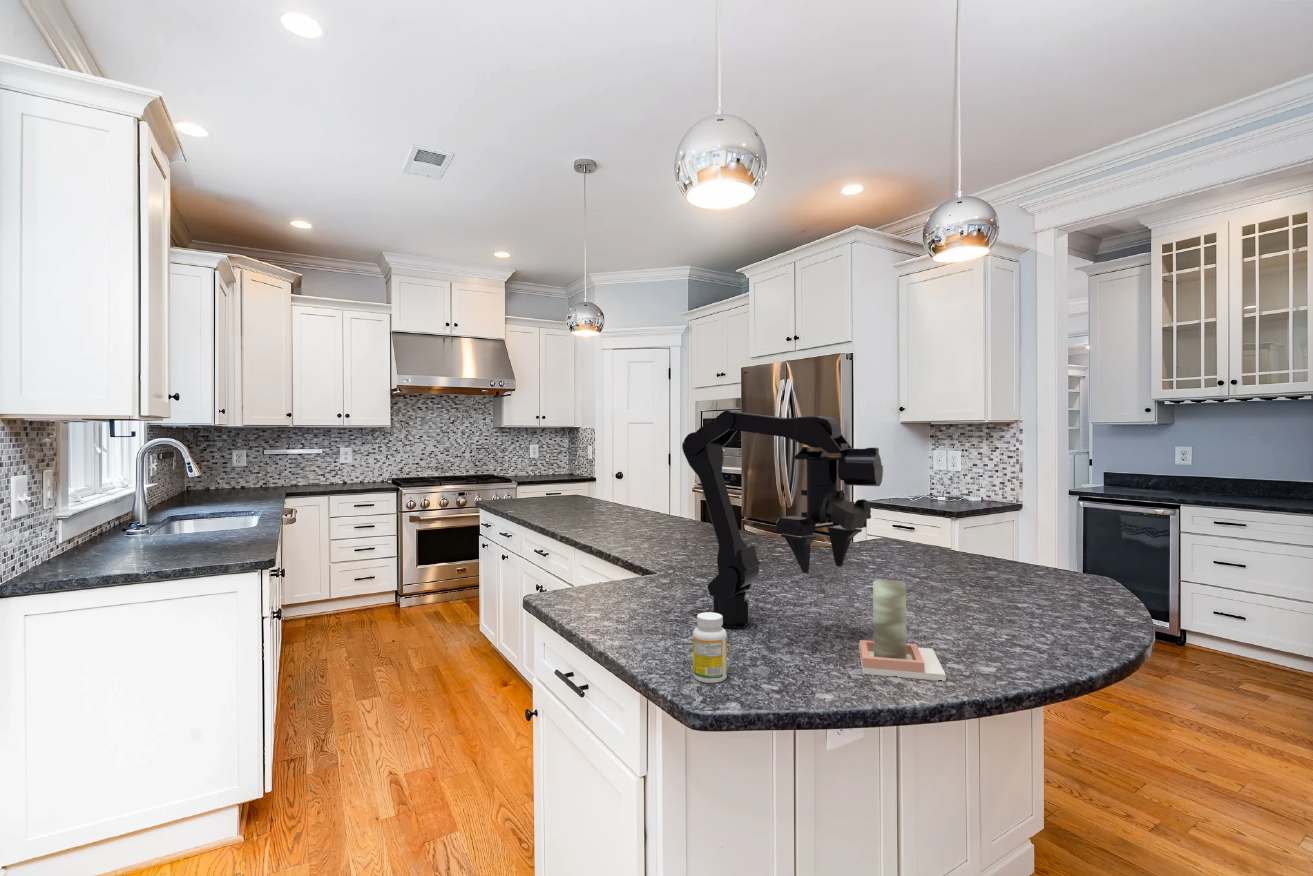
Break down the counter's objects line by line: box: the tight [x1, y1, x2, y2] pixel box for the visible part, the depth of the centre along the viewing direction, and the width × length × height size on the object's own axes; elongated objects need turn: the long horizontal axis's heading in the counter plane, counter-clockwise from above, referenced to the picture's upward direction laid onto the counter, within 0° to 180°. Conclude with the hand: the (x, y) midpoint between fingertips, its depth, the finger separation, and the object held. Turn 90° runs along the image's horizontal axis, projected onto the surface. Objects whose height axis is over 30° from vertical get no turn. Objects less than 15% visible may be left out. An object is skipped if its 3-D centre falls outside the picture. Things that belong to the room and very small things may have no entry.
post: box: [872, 579, 907, 659], centre depth 101 cm, size 5×5×12 cm
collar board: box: [858, 639, 947, 682], centre depth 102 cm, size 12×12×2 cm
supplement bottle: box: [692, 611, 728, 684], centre depth 97 cm, size 5×5×10 cm
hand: (822, 569), depth 113 cm, fingers open, 9 cm apart
